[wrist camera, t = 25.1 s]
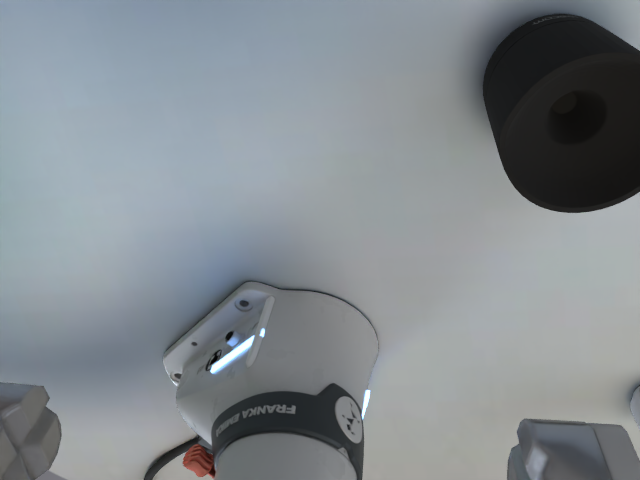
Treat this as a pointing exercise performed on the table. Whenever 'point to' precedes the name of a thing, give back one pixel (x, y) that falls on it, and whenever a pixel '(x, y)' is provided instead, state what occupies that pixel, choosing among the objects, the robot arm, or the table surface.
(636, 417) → the energy drink can
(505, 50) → the black bluetooth speaker
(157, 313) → the table surface
